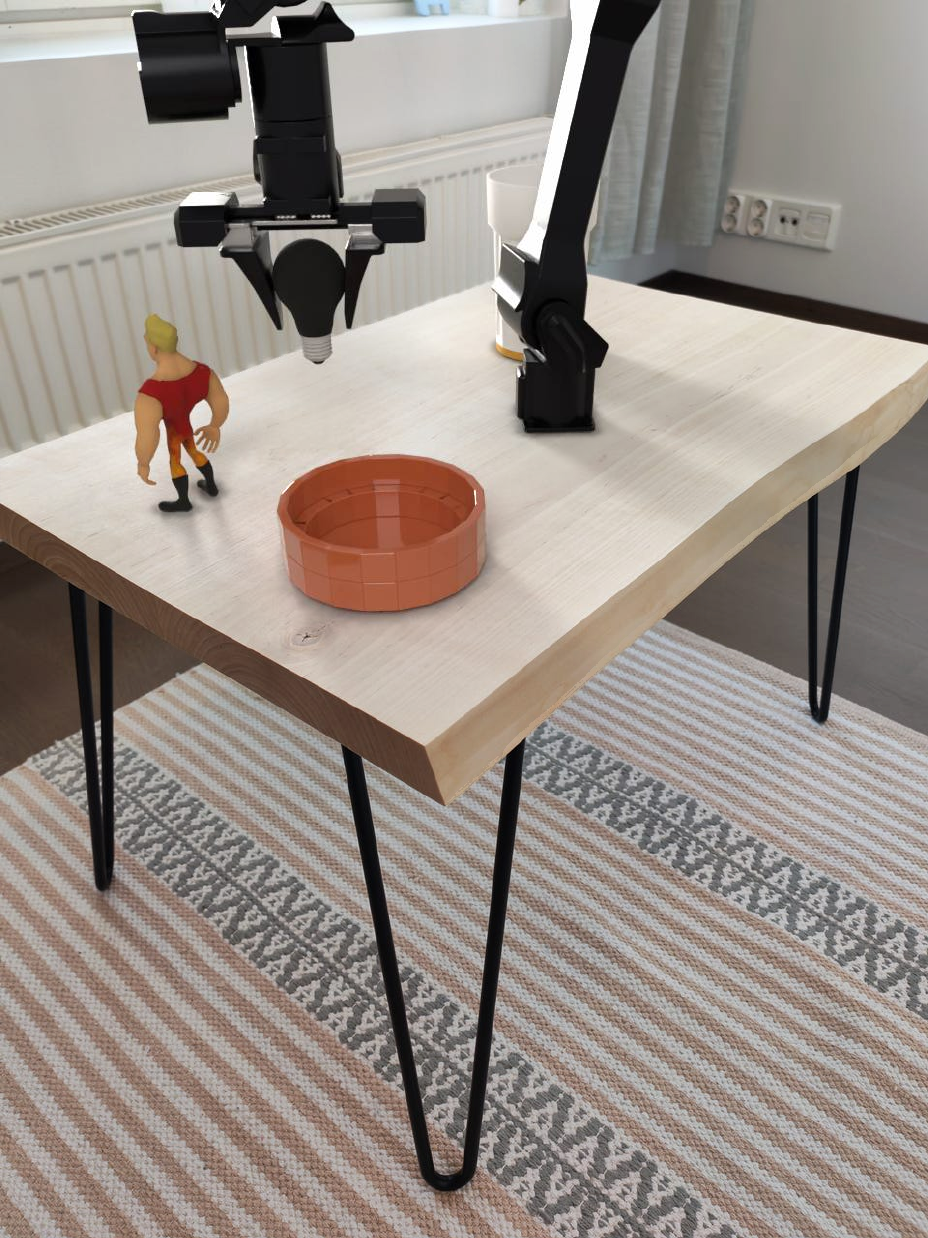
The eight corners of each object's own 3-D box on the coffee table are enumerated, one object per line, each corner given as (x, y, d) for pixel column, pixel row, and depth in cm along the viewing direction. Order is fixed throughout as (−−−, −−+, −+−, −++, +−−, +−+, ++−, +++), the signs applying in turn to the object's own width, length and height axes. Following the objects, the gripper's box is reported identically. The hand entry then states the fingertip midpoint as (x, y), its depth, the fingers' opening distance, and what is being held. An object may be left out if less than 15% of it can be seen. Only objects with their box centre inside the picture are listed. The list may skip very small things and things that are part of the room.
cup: (522, 322, 113) (526, 159, 103) (608, 342, 107) (621, 171, 97) (465, 352, 105) (463, 178, 95) (554, 374, 100) (562, 192, 90)
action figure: (216, 471, 83) (184, 293, 74) (248, 481, 82) (219, 300, 73) (132, 519, 76) (86, 330, 68) (165, 531, 75) (123, 339, 66)
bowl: (480, 509, 77) (480, 451, 74) (490, 614, 65) (490, 550, 63) (297, 514, 77) (290, 456, 74) (274, 620, 65) (264, 556, 62)
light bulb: (340, 379, 79) (328, 251, 73) (272, 374, 80) (255, 247, 74) (362, 353, 83) (353, 231, 78) (298, 348, 85) (284, 228, 79)
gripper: (424, 96, 77) (431, 295, 86) (189, 101, 77) (220, 299, 87) (420, 120, 68) (428, 339, 77) (153, 125, 68) (193, 343, 77)
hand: (315, 327), depth 80 cm, fingers closed on light bulb, 5 cm apart
